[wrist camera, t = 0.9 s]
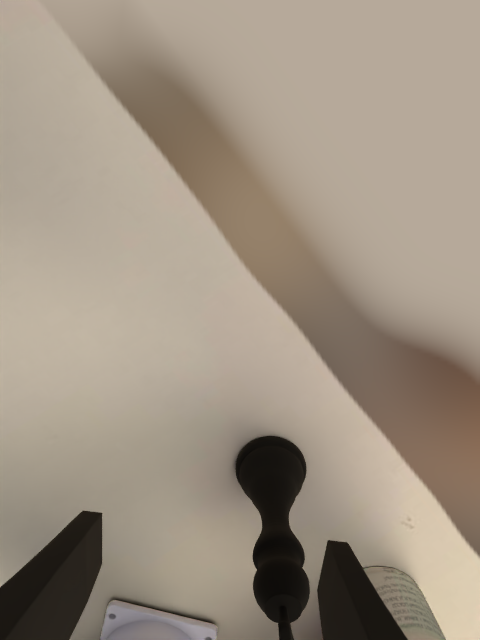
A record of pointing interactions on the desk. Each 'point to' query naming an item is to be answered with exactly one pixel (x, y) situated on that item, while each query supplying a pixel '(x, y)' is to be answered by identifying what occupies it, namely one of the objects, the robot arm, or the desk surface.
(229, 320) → the desk surface
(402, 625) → the spray paint can
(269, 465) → the chess piece
